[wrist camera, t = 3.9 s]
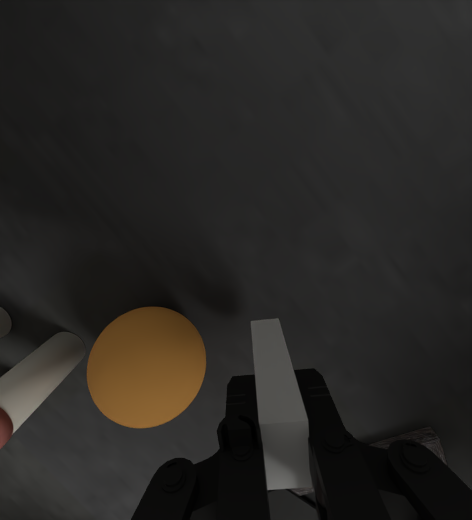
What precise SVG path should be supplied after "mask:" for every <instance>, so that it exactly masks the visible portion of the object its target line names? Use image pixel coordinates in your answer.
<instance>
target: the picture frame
mask: <svg viewBox="0 0 472 520" xmlns="http://www.w3.org/2000/svg"><path fill="white" fill-rule="evenodd" d="M401 439H407V440H412V441H415V442H418V443H420V444H422V445H424V446H426V447H427V448H428V449H429V450H431V451H432V452H433V453H434V454H435V455H436V456H437V457H438V458H439V459H440V460H442V461H443V462H444V463H445V464H446V465H447V466H448V464H447V461H446V458H445V454H444V451H443V448H442V445H441V441H440V438H439V437H438V436H437V434H436V433H435V432H434V430H433V429H432V428H431V427H430V426H429V427H426V428H422V429H419V430H416V431H412V432H409V433H405V434H402V435H399V436H395V437H392V438H388V439H385V440H382V441H378V442H375V443H372V444H368V445H370V446H374V447H379V448H383V449H388V448H389V445H390V444H391V443H392V442H394V441H396V440H401ZM311 480H312V479H311ZM268 500H269V509H270V519H271V520H316V501H315V491H314V487H313V483H312V487H303V488H290V489H276V490H268Z"/></svg>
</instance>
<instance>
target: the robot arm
mask: <svg viewBox="0 0 472 520" xmlns="http://www.w3.org/2000/svg"><path fill="white" fill-rule="evenodd" d="M251 332H252V345H253V357H254V369H255V375H244V376H233V377H232V378H231V380H230V382H229V383H228V385H227V400H226V417H225V418H224V419H223V420H222V421H221V422H220V424H219V426H218V429H217V435H218V441H219V447H220V449H219V450H218V451H217V452H216V453H215V454H214V455H213V456H212V457H210V458H208V459H206V460H204V461H202V462H199V463H197V464H194V465H193V463H192V462H191V461H190V460H187V459H185V458H174V459H172V460H169V461H167V462H166V463H164V464H163V465H162V466H161V467H159V469H158V470H157V472H156V473H155V474H154V476H153V478H152V480H151V482H150V484H149V485H148V487H147V489H146V491H145V493H144V495H143V497H142V499H141V501H140V503H139V505H138V507H137V509H136V511H135V513H134V515H133V516H132V518H131V520H271V519H270V509H269V500H268V490H276V489H290V488H303V487H312V483H313V487H314V491H315V501H316V520H472V490H471V489H470V488H469V487H468V486H467V485H466V484H465V483H464V482H463V481H462V480H461V479H460V478H459V477H458V476H457V475H456V474H455V473H454V472H453V471H452V470H451V469H450V468H449V467H448V466H447V465H446V464H445V463H444V462H443V461H442V460H440V459H439V458H438V457H437V456H436V455H435V454H434V453H433V452H432V451H431V450H429V449H428V448H427V447H426V446H424V445H422V444H420V443H418V442H415V441H412V440H407V439H401V440H396V441H394V442H392V443H391V444H390V445H389V448H388V449H383V448H379V447H374V446H370V445H367V444H364V443H362V442H360V441H358V440H356V439H355V438H354V437H353V436H352V434H350V433H349V432H348V431H347V430H346V429H345V427H344V425H343V423H342V421H341V418H340V416H339V414H338V411H337V409H336V407H335V404H334V402H333V400H332V397H331V395H330V393H329V390H328V388H327V386H326V383H325V381H324V379H323V376H322V375H321V374H320V373H319V372H317V371H316V370H315V369H314V368H313V369H301V370H293V366H292V363H291V359H290V356H289V352H288V349H287V345H286V342H285V339H284V335H283V332H282V328H281V325H280V321H279V318H277V319H267V320H257V321H251ZM311 479H312V480H311Z"/></svg>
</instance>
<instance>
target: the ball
mask: <svg viewBox="0 0 472 520" xmlns="http://www.w3.org/2000/svg"><path fill="white" fill-rule="evenodd" d="M205 370H206V352H205V347H204V343H203V341H202V338H201V336H200V334H199V332H198V330H197V329H196V328H195V326H194V325H193V324H192V323H191V322H190V321H189V320H188V319H187V318H186V317H184V316H183V315H181V314H180V313H178V312H176V311H173V310H171V309H168V308H163V307H153V306H152V307H142V308H138V309H134V310H131V311H129V312H127V313H125V314H123V315H121V316H119V317H118V318H116V319H115V320H114V321H113V322H111V323H110V324H109V325H108V326H107V327H106V328H105V329H104V330H103V331H102V333H101V334H100V335H99V337H98V338H97V340H96V342H95V344H94V345H93V348H92V350H91V353H90V356H89V360H88V365H87V382H88V388H89V391H90V394H91V397H92V399H93V401H94V403H95V404H96V406H97V407H98V408H99V410H100V411H101V412H102V413H103V414H104V415H105V416H106V417H108V418H109V419H111V420H112V421H114V422H116V423H118V424H120V425H123V426H126V427H131V428H149V427H154V426H158V425H161V424H163V423H166V422H168V421H170V420H172V419H173V418H175V417H176V416H178V415H179V414H180V413H181V412H183V411H184V410H185V409H186V408H187V407H188V406H189V405H190V403H191V402H192V401H193V399H194V398H195V397H196V395H197V393H198V391H199V389H200V387H201V385H202V382H203V379H204V375H205Z"/></svg>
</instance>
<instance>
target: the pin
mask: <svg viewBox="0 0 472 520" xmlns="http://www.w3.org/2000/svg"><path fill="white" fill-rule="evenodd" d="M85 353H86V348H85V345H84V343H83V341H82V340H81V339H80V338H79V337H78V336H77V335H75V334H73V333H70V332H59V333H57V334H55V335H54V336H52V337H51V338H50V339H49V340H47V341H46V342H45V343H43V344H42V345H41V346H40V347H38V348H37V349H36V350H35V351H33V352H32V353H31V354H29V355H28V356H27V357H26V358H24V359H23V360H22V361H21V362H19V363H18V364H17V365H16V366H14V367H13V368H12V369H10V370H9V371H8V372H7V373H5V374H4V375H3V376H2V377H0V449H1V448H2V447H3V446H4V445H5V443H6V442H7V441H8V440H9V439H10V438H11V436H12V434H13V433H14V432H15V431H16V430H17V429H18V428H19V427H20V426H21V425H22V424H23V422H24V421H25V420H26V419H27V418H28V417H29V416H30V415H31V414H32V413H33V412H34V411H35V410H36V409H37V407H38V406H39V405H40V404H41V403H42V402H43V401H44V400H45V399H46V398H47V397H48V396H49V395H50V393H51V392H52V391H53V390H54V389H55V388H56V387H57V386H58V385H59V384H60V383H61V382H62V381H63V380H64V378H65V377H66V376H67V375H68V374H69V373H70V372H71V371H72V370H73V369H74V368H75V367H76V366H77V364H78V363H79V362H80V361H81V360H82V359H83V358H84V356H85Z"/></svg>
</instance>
